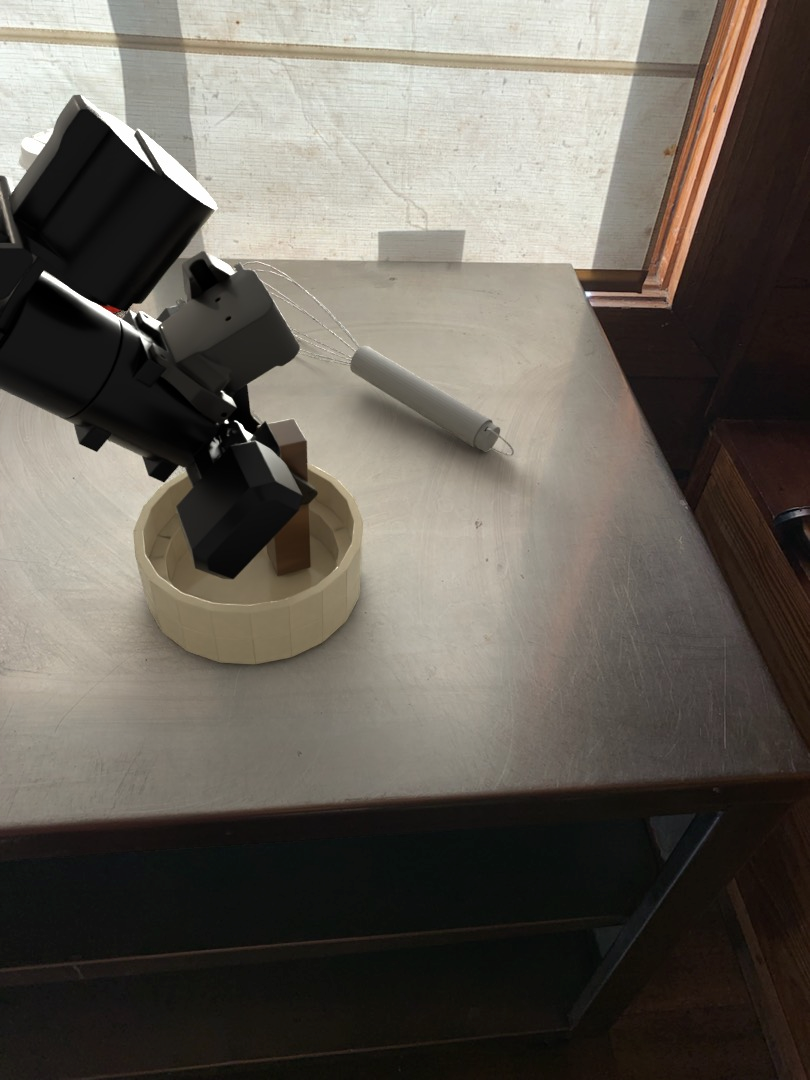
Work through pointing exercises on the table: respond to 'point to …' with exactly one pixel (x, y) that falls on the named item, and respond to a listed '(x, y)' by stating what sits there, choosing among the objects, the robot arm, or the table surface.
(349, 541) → the bowl
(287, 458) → the stir stick
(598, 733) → the table surface
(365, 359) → the kitchen whisk
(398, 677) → the table surface
